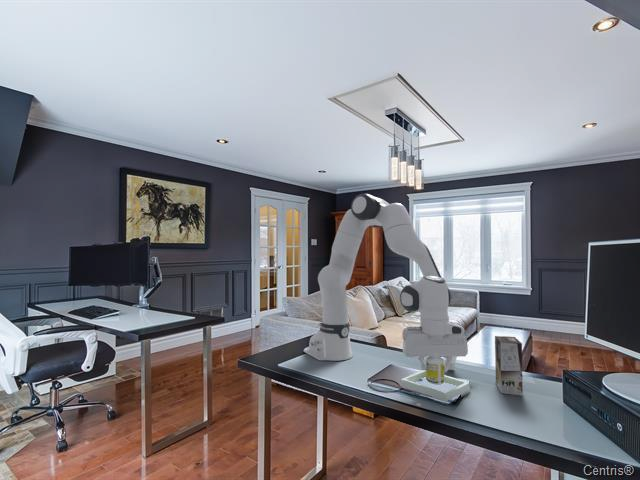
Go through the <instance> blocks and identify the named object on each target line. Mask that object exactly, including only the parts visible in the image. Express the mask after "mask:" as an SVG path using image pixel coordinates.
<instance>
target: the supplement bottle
mask: <svg viewBox="0 0 640 480" xmlns="http://www.w3.org/2000/svg"><path fill="white" fill-rule="evenodd" d="M425 363H426V364H427V369H428V370H426V380H427V382H428V383H430V384H433V385H441V384H443V383H444V375H445V370H444V363H445V362H444V359H443V358H442V357H440V355H439V353H434V356H433V357H427V358H426V361H425Z"/></svg>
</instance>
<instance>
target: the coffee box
mask: <svg viewBox="0 0 640 480" xmlns="http://www.w3.org/2000/svg"><path fill="white" fill-rule="evenodd" d="M494 357H495V358H494V359H495V360H494V361H495V362H494V363H495V385H496V386H497V388H498V390H499V391H500V394H505V395H513V396H523V393H524V391H523V390H524V389H523V387H524V386H523V343H522V342H521V341H520V340H519V339H517V337H515V336H505V335H504V336H502V335H501V336H499V335H495V336H494Z"/></svg>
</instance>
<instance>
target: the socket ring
mask: <svg viewBox="0 0 640 480" xmlns="http://www.w3.org/2000/svg"><path fill="white" fill-rule="evenodd" d="M367 385H368V386H369V388H370V389H372V390H373V391H376V392H382V393H394V392H396V391H394V389H380V388H377V387H374V386H373V385H372V384H371V385H370V384H369V382H368V384H367Z"/></svg>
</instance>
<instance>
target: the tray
mask: <svg viewBox="0 0 640 480" xmlns="http://www.w3.org/2000/svg"><path fill="white" fill-rule="evenodd" d="M424 377H426V370H422V369H421V371H418V372H415V373H412V374H410V375H408V376H406V377H403V378H401V379H400V383H401V385H402V386H405V387H408V388H411V389H414V390H416V391H418V392H421V393H423V394H427V395H430V396H432V397H434V398H437V399H439V400H442V401H445V402H447V401H448V400H450V399H452V398H453V397H455V396H457V395H459V394H461V398H462V397H464V396H466V395H467V394H470V393H471V388H470V387H471V386H470V385H471V384H470V382H468V381H465V380H462V379H459V378H455V377H452V376H448V375H446V374H444V382H445V383H449V384H453V385H456V386H458V387H456V388H454V389H452V390H450V391H448V392H446V393H444V392H441V391H438V390H435V389H432V388H430V387H427V386H424V385H421V384H418V383H415V382H414V381H417V380H419V379H421V378H424Z"/></svg>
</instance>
